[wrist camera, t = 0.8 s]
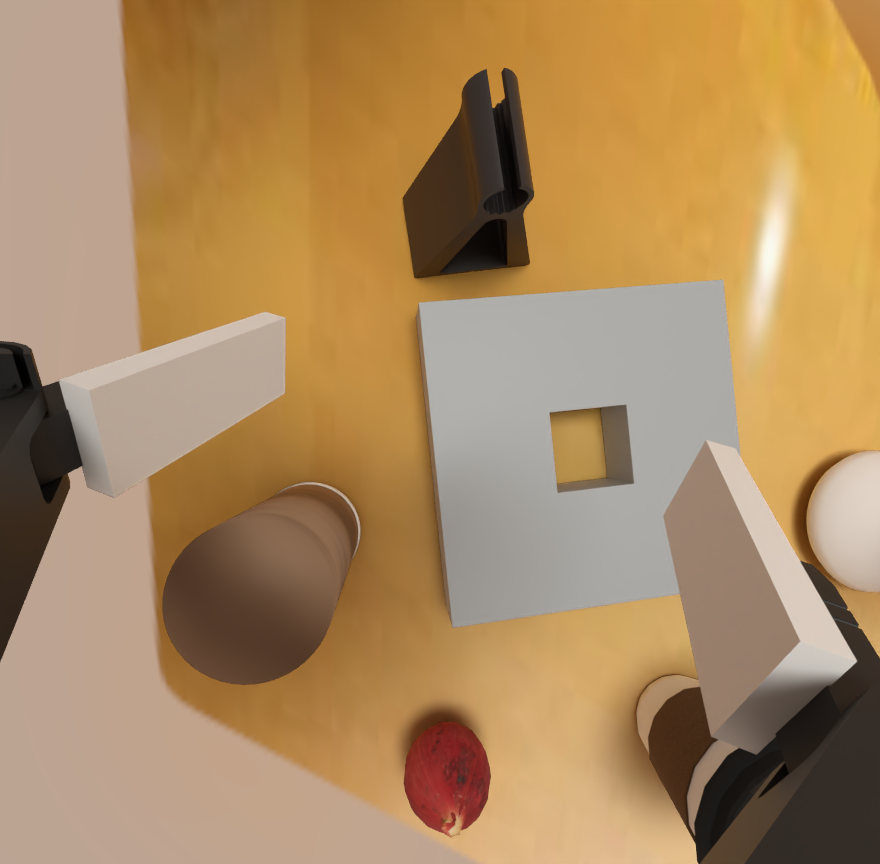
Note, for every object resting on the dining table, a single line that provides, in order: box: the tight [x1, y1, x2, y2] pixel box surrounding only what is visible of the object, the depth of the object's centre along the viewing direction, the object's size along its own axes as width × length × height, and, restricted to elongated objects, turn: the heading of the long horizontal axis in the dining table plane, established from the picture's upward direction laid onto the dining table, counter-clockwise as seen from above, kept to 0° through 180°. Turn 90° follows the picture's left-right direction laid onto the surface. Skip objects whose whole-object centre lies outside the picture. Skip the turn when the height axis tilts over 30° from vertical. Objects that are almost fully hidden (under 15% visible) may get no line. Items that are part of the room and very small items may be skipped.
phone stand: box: [403, 68, 534, 278], centre depth 28 cm, size 9×6×12 cm, turn 98°
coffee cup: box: [636, 675, 784, 864], centre depth 30 cm, size 11×11×12 cm
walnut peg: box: [163, 482, 361, 685], centre depth 25 cm, size 7×7×16 cm
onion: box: [404, 722, 491, 838], centre depth 30 cm, size 6×6×8 cm
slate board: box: [416, 280, 740, 628], centre depth 33 cm, size 22×22×4 cm
